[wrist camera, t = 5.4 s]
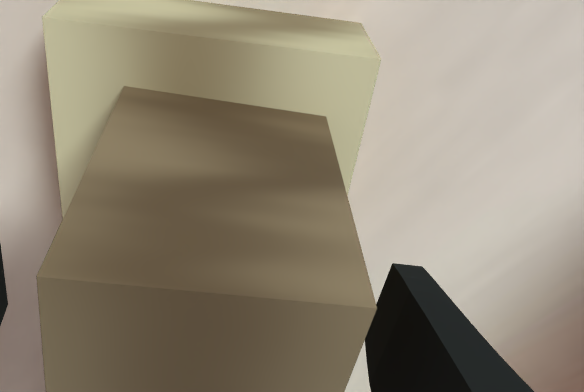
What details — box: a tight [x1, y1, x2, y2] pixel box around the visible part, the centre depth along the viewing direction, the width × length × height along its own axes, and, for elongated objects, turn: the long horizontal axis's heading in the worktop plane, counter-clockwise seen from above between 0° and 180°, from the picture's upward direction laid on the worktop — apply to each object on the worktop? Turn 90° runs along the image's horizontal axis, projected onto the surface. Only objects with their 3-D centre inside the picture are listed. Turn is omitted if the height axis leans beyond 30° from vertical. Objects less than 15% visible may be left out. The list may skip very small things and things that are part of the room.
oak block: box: [42, 0, 381, 218], centre depth 15 cm, size 7×7×3 cm
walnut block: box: [37, 86, 377, 392], centre depth 11 cm, size 4×4×6 cm
